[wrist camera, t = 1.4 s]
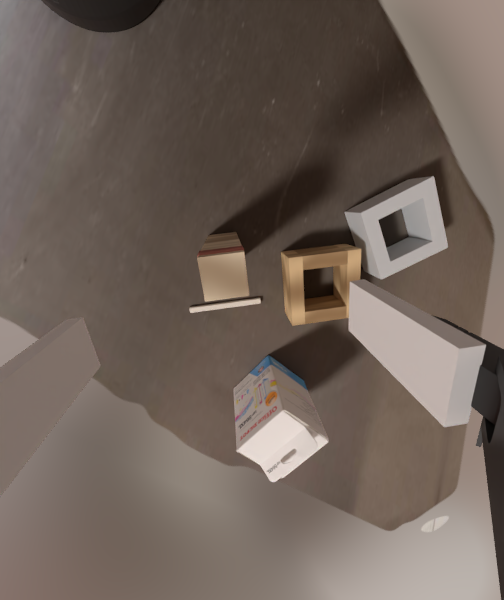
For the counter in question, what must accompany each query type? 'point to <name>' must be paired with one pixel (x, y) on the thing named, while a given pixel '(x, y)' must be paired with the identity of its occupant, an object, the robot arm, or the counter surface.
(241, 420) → the ink box
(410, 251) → the grey square frame
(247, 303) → the thin white stick
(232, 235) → the red-banded tall box
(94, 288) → the counter surface
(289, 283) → the wooden square frame
